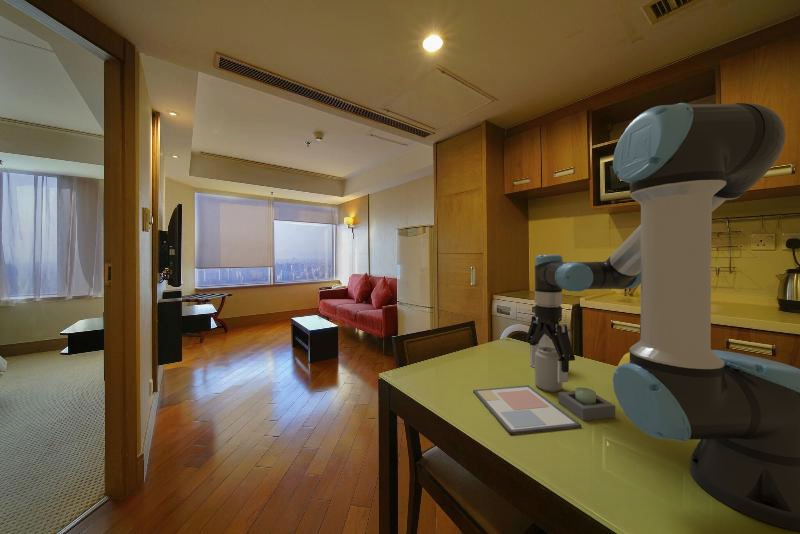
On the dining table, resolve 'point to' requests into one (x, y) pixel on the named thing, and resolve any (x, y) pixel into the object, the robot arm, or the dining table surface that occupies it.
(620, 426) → the dining table surface
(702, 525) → the dining table surface
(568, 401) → the button housing
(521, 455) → the dining table surface
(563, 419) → the picture sheet
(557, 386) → the can
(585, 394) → the button
